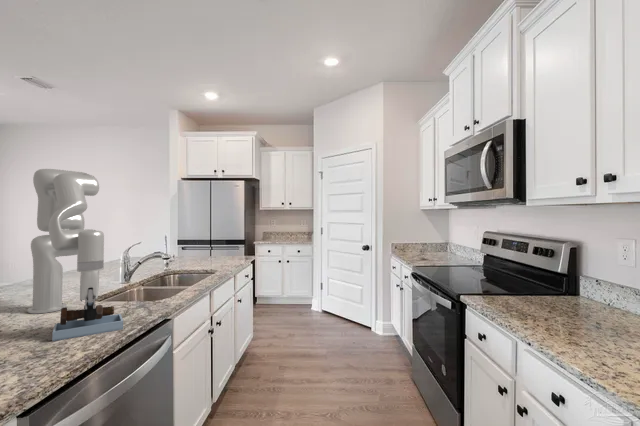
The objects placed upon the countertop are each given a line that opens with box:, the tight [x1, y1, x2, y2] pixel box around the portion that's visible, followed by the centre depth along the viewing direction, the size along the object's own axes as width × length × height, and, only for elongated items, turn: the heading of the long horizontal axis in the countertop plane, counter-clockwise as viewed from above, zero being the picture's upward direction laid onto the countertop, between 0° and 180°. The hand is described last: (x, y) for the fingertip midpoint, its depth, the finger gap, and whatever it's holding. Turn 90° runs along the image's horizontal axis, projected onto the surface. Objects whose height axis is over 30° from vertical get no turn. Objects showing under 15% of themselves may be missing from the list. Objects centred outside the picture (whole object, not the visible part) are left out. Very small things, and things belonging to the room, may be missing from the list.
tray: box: [51, 313, 124, 342], centre depth 111 cm, size 10×19×3 cm, turn 127°
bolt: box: [59, 304, 115, 325], centre depth 111 cm, size 6×5×15 cm
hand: (89, 317), depth 111 cm, fingers closed on bolt, 5 cm apart
